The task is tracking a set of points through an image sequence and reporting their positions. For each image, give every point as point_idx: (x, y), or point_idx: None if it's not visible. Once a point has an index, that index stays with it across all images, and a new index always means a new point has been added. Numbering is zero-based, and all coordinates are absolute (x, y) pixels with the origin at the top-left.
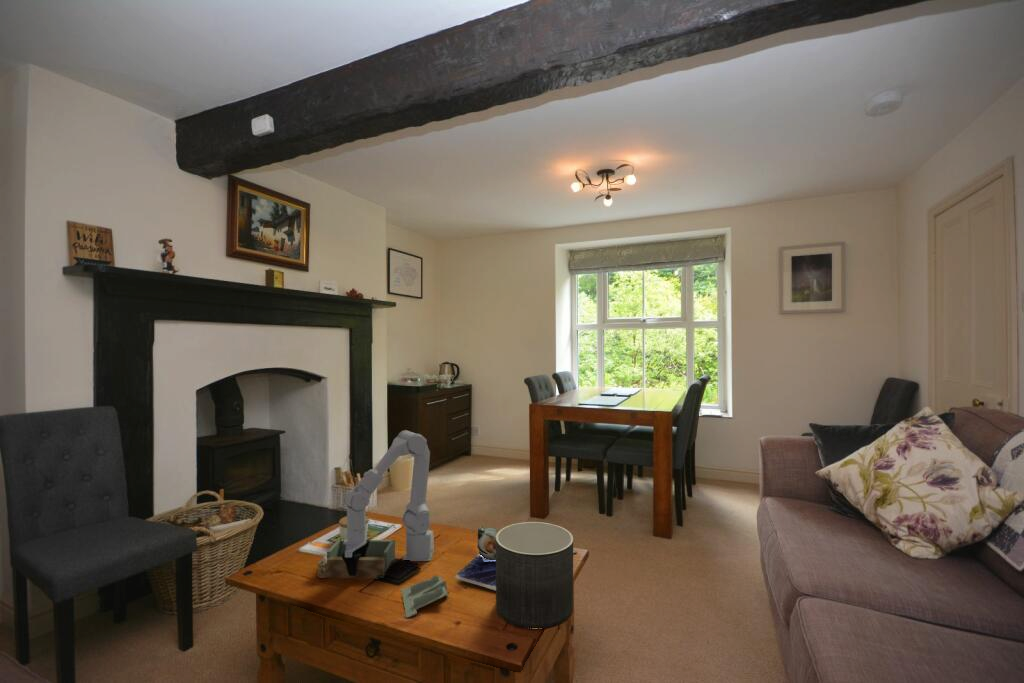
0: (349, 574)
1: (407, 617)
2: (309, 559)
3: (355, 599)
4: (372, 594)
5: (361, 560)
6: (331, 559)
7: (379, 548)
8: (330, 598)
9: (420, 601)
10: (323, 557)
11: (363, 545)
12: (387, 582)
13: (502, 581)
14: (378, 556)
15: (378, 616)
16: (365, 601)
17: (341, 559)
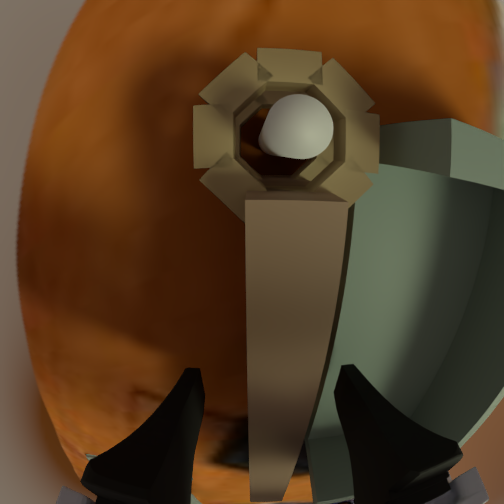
0: (183, 375)
1: (87, 456)
2: (459, 11)
3: (84, 381)
4: (132, 420)
5: (249, 464)
6: (251, 257)
7: (444, 415)
8: (50, 293)
9: None
10: (298, 103)
11: (364, 500)
12: (221, 445)
13: None
14: (430, 384)
15: (61, 423)
16: (90, 405)
17: (255, 372)
